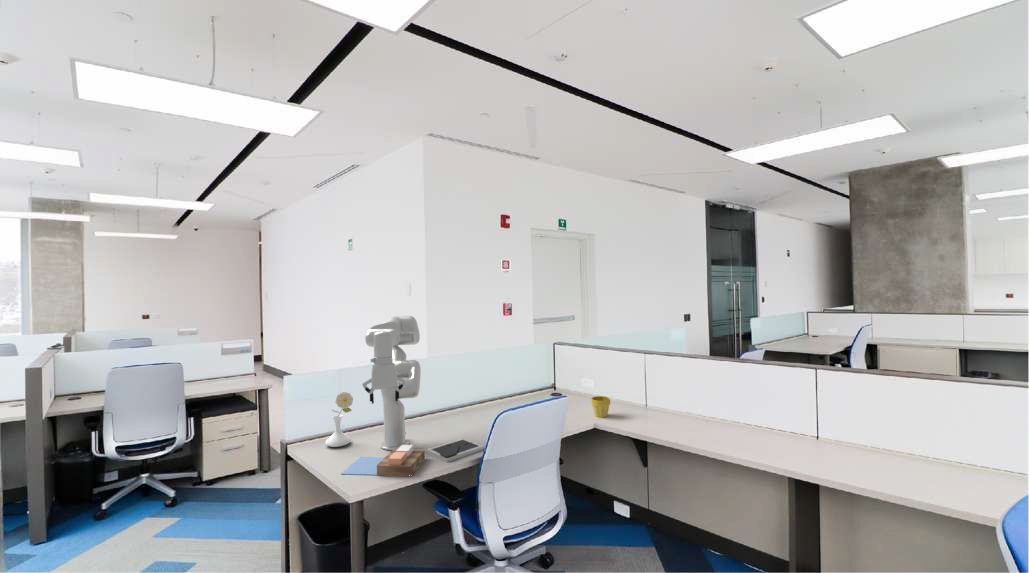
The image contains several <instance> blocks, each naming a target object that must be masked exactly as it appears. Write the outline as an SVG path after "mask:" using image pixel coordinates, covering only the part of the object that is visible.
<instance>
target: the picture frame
mask: <svg viewBox="0 0 1029 573" xmlns="http://www.w3.org/2000/svg"><path fill="white" fill-rule="evenodd" d="M483 449H484V450H485V445H482V444H480V443H477V442H475V441H472V440H470V439H466V438H465V437H462V438H459V439H455V440H452V441H450V442H445V443H442V444H439V445H436V446H433V447H429V448H427V449H426V450H425V453H426V454H428V455H430V454H431V455H430V456H432V455H433V456H432V457H434V456H435V458H436V457H437V458H436V459H438V458H439V460H441V459H442V460H441V461H443V460H444V461H443V462H445V461H446V462H445V463H448V462H447V461H449V462H451V461H450V460H452V461H454V460H453V459H455V460H457V459H456V458H458V459H460V458H459V457H461V458H463V456H464V457H465V456H466V455H467V456H469V455H472V454H475V453H478V452H481V451H484V450H483Z"/></svg>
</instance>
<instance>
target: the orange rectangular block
mask: <svg viewBox="0 0 1029 573" xmlns="http://www.w3.org/2000/svg"><path fill="white" fill-rule="evenodd" d="M406 458H407V452H394V453H393V454H392V455H391V456H390V457H389V458H388V462H389V465H401V464H402V463H403V462H404V461H405V460H406Z"/></svg>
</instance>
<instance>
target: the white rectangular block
mask: <svg viewBox="0 0 1029 573" xmlns="http://www.w3.org/2000/svg"><path fill="white" fill-rule="evenodd" d="M413 450H414V444H409V445H401V446H400V447H399V448H398V449H397V450H396V452H407V457H408V456H409V455H410V454H411V453H412V452H413Z"/></svg>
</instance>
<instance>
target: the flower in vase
mask: <svg viewBox="0 0 1029 573" xmlns="http://www.w3.org/2000/svg"><path fill="white" fill-rule="evenodd" d="M353 400H354V397H353V395H351V392H347V391H345V392H344V391H343V392H340V394H337V395H336V398H335V404H336V405H337V407H338V408H341V410H340V411H337V410H333V409H331V411H332V412H334V413H337V414H334V415H331V418H332V419H333V422H334V431H333V433H332V434H331V435H330V436H329V437H328V438H327V439H326V440H325V446H327V447H331V448H337V447H343V446H346V445H347V444H349V443H350V442H351V441H352V439H351V437H350V436H349V435H348V434H345V433H344V432H343V431H342V429H341V421H342V418H343V417H344V415H343V414H341V413H342V411H343V412H344V413H345V414H346V413H350V412H352V409H351V408H350V407H351V406H352V404H353V402H354V401H353Z"/></svg>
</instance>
